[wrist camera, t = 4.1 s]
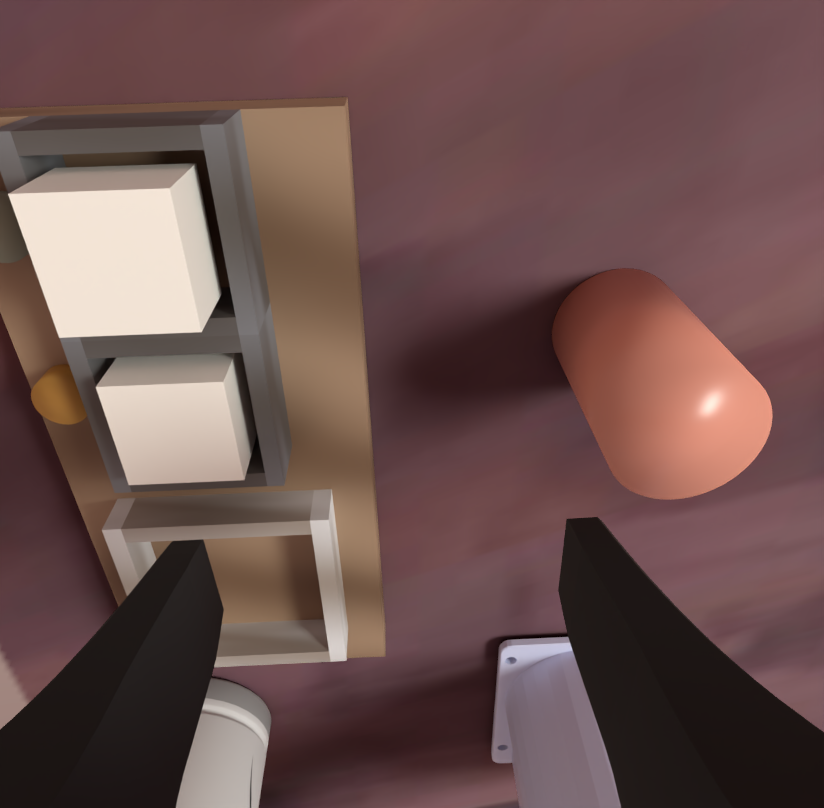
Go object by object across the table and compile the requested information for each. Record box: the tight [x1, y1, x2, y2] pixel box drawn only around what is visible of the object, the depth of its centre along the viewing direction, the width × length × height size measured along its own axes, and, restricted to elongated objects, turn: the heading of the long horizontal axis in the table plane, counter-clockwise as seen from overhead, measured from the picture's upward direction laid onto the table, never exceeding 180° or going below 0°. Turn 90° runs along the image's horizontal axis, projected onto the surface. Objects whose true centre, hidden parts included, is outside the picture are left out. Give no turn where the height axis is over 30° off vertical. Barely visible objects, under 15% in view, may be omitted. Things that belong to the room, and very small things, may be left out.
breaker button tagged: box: [96, 353, 257, 485], centre depth 18 cm, size 3×3×2 cm
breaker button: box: [8, 163, 222, 338], centre depth 15 cm, size 3×3×2 cm
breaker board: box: [0, 97, 385, 667], centre depth 21 cm, size 21×10×4 cm, turn 1°
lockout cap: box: [552, 268, 772, 499], centre depth 18 cm, size 4×4×6 cm
